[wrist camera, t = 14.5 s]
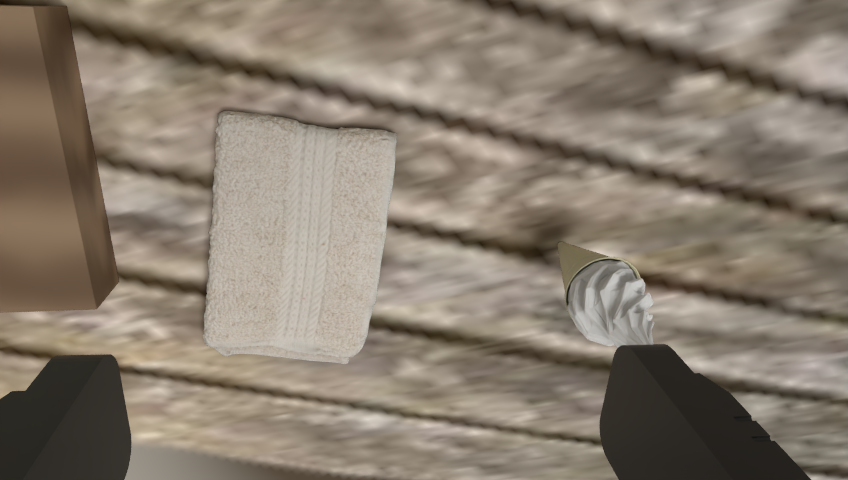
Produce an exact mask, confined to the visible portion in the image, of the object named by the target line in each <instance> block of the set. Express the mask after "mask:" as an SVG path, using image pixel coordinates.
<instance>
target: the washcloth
mask: <svg viewBox="0 0 848 480" xmlns="http://www.w3.org/2000/svg"><path fill="white" fill-rule="evenodd" d="M217 122H218V127H216V131H215V133H216V134H217V136H216V139H215V140H216V147H215V156H216V158H215V162H216V165H215V168H214V170H213V171H214V182H213V194H214V196H213V209H212V216H213V218H212V219H213V220H212V224H211V227H210V230H209V234H210V243H209V244H210V246H211V247H210V250H209V254H210V258H209V260H208V271H209V277H208V283H207V295H206V298H207V299H206V302H205V304H206V311H205V313H204V331H203V332H204V335H203V337H204V341H205V344H206V345H207V346H209V347H214V348H215V349H216V350H217V351H218V352H219V353H221V354H222V355H224V356H230V355H234V354H238V353H239V354H259V355H266V356H276V357H285V358H295V359H302V360H308V361H323V362H335V363H341V364H347V363H348V362H349V359H350V357H353V356H355V354H357V353H358V352H359V351H360V350H361V349H362V347H363V345H364V342H365V340H366V338H367V334H368V328H369V322H370V318H371V315H372V310H373V306H374V305H375V303H376V298H377V290H378V283H379V276H380V268H381V260H382V253H383V248H384V242H385V239H386V226H387V217H388V209H389V202H390V197H391V191H392V187H393V177H394V172H395V161H396V160H395V148H396V143H397V141H396V136H397V135H396V133H392V132H387V131H385V130H373V129H361V128H342V127H340V128H339V129H330V128H325V127H318V126H316V125H305V124H303V123H299V122H298V121H297V120H293V119H289V118H284V117H273V116H271V115H259V114H257V113H253V114H249V113H246V112H245V113H242V112H233V111H223V112H221V113H219V114H218V120H217Z"/></svg>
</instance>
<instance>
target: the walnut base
mask: <svg viewBox="0 0 848 480" xmlns="http://www.w3.org/2000/svg"><path fill="white" fill-rule="evenodd" d="M118 282H119V279H118V273H117V268H116V263H115V258H114V252H113V247H112V242H111V237H110V231H109V226H108V221H107V216H106V210H105V205H104V200H103V195H102V189H101V184H100V179H99V174H98V168H97V163H96V158H95V153H94V147H93V142H92V137H91V132H90V126H89V121H88V116H87V111H86V105H85V100H84V95H83V90H82V84H81V79H80V74H79V69H78V63H77V58H76V53H75V48H74V42H73V37H72V32H71V27H70V21H69V16H68V11H67V6H33V5H0V313H3V312H32V311H61V310H90V309H97V308H98V307H99V306H100V304H101V303H102V302H103V301H104V300H105V298H106V297H107V296H108V295H109V293H110V292H111V291H112V290H113V289H114V287H115V286H116V285H117V284H118Z"/></svg>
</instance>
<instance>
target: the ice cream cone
mask: <svg viewBox="0 0 848 480" xmlns="http://www.w3.org/2000/svg"><path fill="white" fill-rule="evenodd" d="M557 246H558V253H559V259H560V265H561V271H562V278H563V282H564V289H565V306H566V309H567V312H568V314H569V315H570V317H571V318H572V319H573V321H574V323H575V325H576V327H577V329H578V330H579V331H580V332H581V333H582V334H583V335H584V336H585V337H586V338H587V339H588V340H591V341H594V342H597V343H600V344H603V345H607V346H612V345H615V346H616V347H617V348H618V347H620V346H621V345H652V344H653V338H652V332H651V329H652V327H653V325H654V322H653V321H650V320H651V319H652V315H651V314H649V313H648V312H647V311H646V310H647V309H648V308H649V307H651V306H652V304H653V300H652V297H651V295H650V294H649V293H646V294H644V291H645V283H644V281H643V279H641V278H640V275H639V273H638V271H637V270H636V268H635V267H634V266H633V265H632V264H630V263H629V262H627V261H625V260H623V259H620V258H616V257H608V256H605V255H602V254H599V253H596V252H593V251H589V250H586V249H583V248H580V247H576V246H573V245H570V244H567V243H564V242H559V243H558V244H557Z"/></svg>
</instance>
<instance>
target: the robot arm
mask: <svg viewBox="0 0 848 480" xmlns="http://www.w3.org/2000/svg"><path fill="white" fill-rule="evenodd" d="M600 437H601V442H602V446H603V450H604V452H605V455H606V457H607V459H608V461H609V463H610V464H611V466H612V468H613V470H614V472H615V474H616V475H617V477H618V479H619V480H811V479H810V478H809V477H808V476H807V475H806V474H805V473H804V472H803V470H802V469H801V468H800V467H799V466H798V465H797V464H796V463H795V462H794V461H793V460H792V459H791V458H790V457H789V456H788V454H787V453H786V452H785V451H784V450H783V449H782V448H781V447H780V446H779V445H778V444H777V443H776V442H775V441H771V440H770V435H769V434H768V433H767V432H766V431H765V430H764V429H763V428H762V427H761V426H760V425H759V424H758V423H757V421H752V419H751V415H750V414H749V413H748V412H747V411H746V410H745V409H744V408H743V407H742V405H741V404H740V403H739V402H738V401H737V400H736V399H735V398H734V397H733V396H732V395H731V394H730V393H729V392H728V391H726V390H724V389H723V388H721V387H720V386H718V385H717V384H715V383H714V382H712V381H711V380H709V379H707V378H706V377H704V376H703V375H701V374H700V373H695V374H694V373H693V371H692V370H691V369H690V368H689V367H688V366H687V365H686V364H685V363H684V361H683V360H682V359H681V358H680V357H679V356H678V355H677V354H676V352H675V351H674V350H673V349H672V348H671V347H669V346H668V345H665V344H652V345H621V346H620V347H618V349H617V350H616V352H615V354H614V358H613V362H612V366H611V371H610V376H609V380H608V385H607V389H606V394H605V398H604V403H603V408H602V412H601V417H600ZM130 455H131V433H130V427H129V421H128V416H127V410H126V405H125V399H124V394H123V388H122V383H121V377H120V372H119V367H118V363H117V361H116V359H115V357H114V356H112V355H64V356H55V357H53V358H52V359H51V360H50V361H49V362H48V363H47V365H46V366H45V367H44V368H43V370H42V371H41V372H40V373H39V375H38V376H37V377H36V378H35V380H34V381H33V382H32V383H31V385H30V386H29V387H28V388H27V390H26V391H12V392H10V393H9V394H7V395H6V396H4V397H3V398H1V399H0V480H124V479H125V476H126V473H127V470H128V466H129V461H130Z"/></svg>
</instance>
